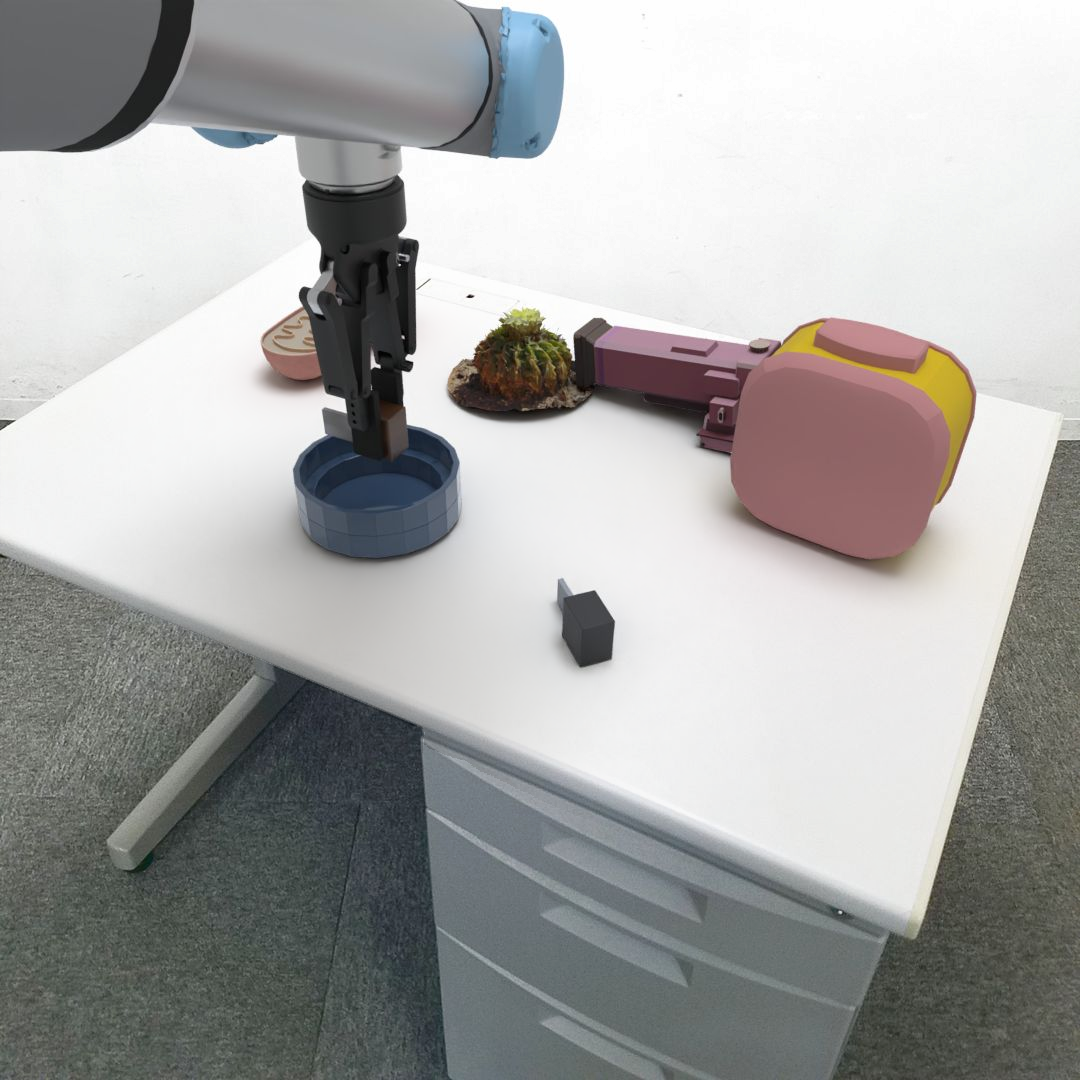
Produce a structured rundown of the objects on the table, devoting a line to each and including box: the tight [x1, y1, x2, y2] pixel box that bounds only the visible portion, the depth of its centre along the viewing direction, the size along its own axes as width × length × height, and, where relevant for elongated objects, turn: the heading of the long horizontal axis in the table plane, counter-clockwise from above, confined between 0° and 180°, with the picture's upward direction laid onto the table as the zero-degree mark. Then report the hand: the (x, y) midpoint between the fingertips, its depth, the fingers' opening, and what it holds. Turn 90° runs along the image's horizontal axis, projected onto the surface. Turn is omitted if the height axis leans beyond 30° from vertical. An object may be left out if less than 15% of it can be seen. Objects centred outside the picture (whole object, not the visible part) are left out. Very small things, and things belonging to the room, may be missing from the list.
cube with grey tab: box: [556, 577, 616, 668], centre depth 79 cm, size 8×3×4 cm, turn 21°
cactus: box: [447, 307, 595, 412], centre depth 110 cm, size 17×16×10 cm
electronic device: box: [572, 317, 782, 454], centre depth 105 cm, size 11×27×10 cm, turn 59°
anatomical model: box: [259, 305, 371, 381], centre depth 117 cm, size 23×10×5 cm, turn 151°
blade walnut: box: [321, 400, 409, 462], centre depth 85 cm, size 8×3×4 cm, turn 64°
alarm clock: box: [729, 317, 977, 560], centre depth 87 cm, size 18×11×19 cm, turn 56°
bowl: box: [292, 424, 462, 559], centre depth 91 cm, size 15×15×6 cm
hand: (380, 445), depth 86 cm, fingers closed on blade walnut, 3 cm apart
